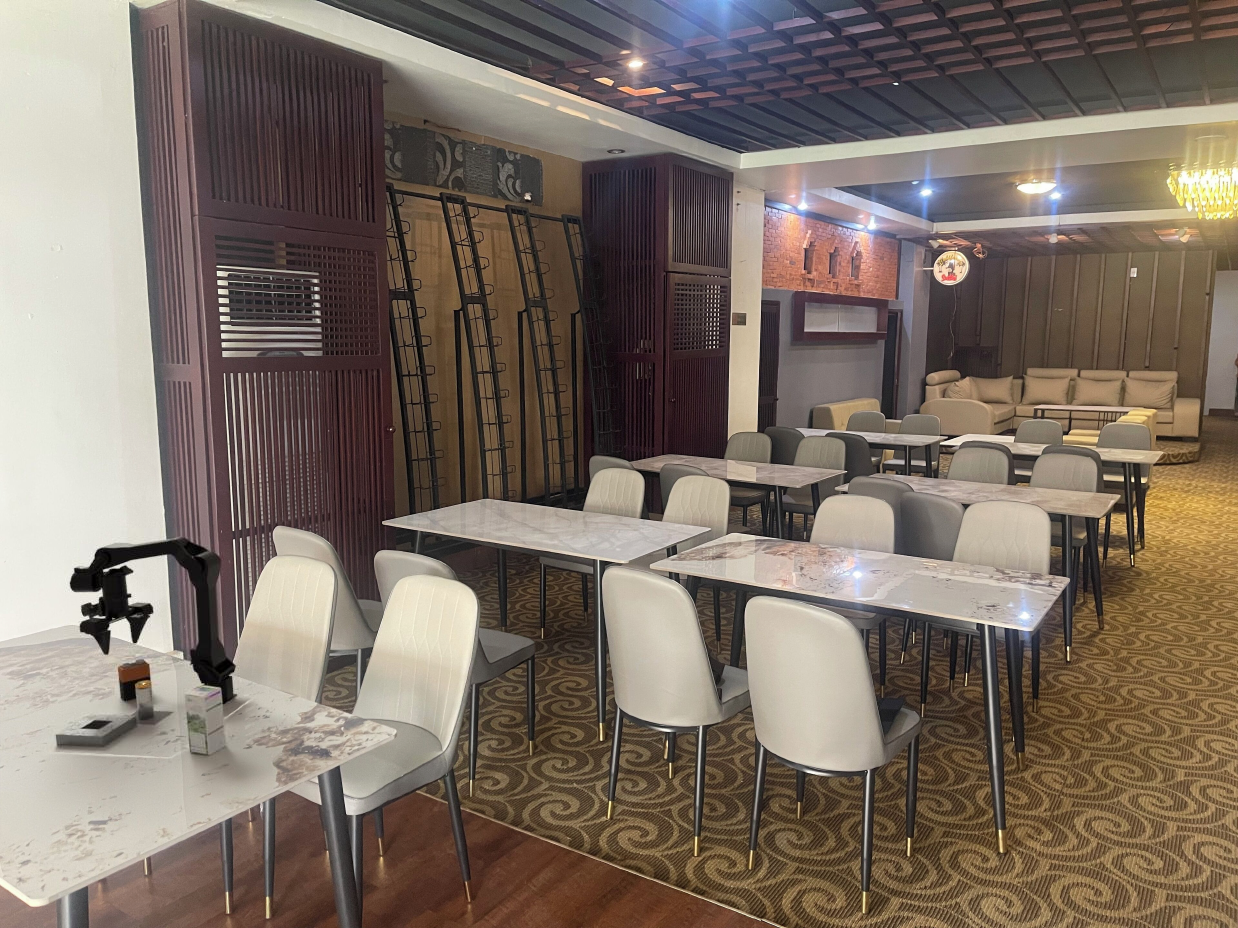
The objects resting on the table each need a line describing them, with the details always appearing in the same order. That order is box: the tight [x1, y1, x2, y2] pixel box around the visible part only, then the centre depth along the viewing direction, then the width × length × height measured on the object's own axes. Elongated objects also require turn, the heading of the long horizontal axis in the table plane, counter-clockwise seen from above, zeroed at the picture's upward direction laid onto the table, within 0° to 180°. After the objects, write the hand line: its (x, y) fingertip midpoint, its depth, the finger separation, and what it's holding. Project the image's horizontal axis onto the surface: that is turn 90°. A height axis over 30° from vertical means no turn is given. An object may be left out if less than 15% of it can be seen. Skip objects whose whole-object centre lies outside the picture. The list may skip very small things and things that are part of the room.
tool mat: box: [130, 710, 174, 726], centre depth 227 cm, size 10×8×1 cm
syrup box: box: [184, 684, 227, 756], centre depth 208 cm, size 6×6×14 cm
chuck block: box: [55, 713, 138, 748], centre depth 217 cm, size 12×12×3 cm
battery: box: [117, 658, 152, 702], centre depth 241 cm, size 4×7×10 cm, turn 133°
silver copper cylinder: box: [135, 680, 155, 720], centre depth 227 cm, size 4×4×9 cm
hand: (120, 648), depth 239 cm, fingers open, 9 cm apart
